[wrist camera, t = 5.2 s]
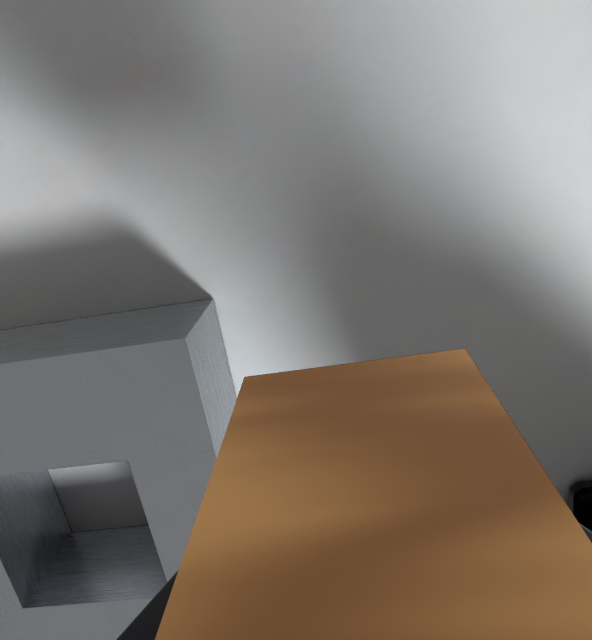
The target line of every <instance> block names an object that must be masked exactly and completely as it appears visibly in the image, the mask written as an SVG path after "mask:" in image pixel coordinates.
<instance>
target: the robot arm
mask: <svg viewBox="0 0 592 640" xmlns="http://www.w3.org/2000/svg"><path fill="white" fill-rule="evenodd" d="M586 492H587V494H586V495H585V496H581V495H582V494H583V493H586ZM569 509H570V510H571V512H572V513H573V515H574V517H575V518H576V520H577V521H578V523H579V524H580V526H581V527H582V529H583V530H584V532H585V533H586V535H587V537H588V538H589V540H590V541H591V543H592V480H588V481H580V482H577V483H575V484H573V485H572V486H571V488H570V490H569ZM178 570H179V569H178ZM178 570H177V572H176V573H175V574H174V575H173V576H172V577H171V578H170V579H169V581H168V582H167V583H166V584H165V585H164V586H163V587H162V588H161V590H160V591H159V592H158V593H157V594H156V595H155V596H154V598H153V599H152V600H151V601H150V602H149V603H148V604H147V605H146V607H145V608H144V609H143V610H142V611H141V612H140V613H139V614H138V616H137V617H136V618H135V619H134V620H133V621H132V622H131V623H130V625H129V626H128V627H127V628H126V629H125V630H124V631H123V633H122V634H121V635H120V636H119V637H118V638H117V639H116V640H155V638H156V635H157V632H158V629H159V626H160V623H161V620H162V617H163V614H164V611H165V608H166V605H167V603H168V600H169V597H170V594H171V591H172V588H173V585H174V582H175V579H176V576H177V573H178Z"/></svg>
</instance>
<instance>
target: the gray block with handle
mask: <svg viewBox="0 0 592 640" xmlns="http://www.w3.org/2000/svg"><path fill="white" fill-rule="evenodd" d="M236 400H237V398H236V393H235V389H234V385H233V381H232V376H231V372H230V368H229V363H228V359H227V355H226V350H225V346H224V342H223V338H222V333H221V329H220V325H219V320H218V316H217V312H216V307H215V303H214V299H208V300H201V301H194V302H187V303H181V304H174V305H167V306H160V307H154V308H147V309H140V310H133V311H127V312H120V313H113V314H106V315H99V316H93V317H86V318H79V319H72V320H66V321H59V322H52V323H45V324H39V325H32V326H25V327H18V328H11V329H5V330H0V640H116V639H117V638H118V637H119V636H120V635H121V634H122V633H123V631H124V630H125V629H126V628H127V627H128V626H129V625H130V623H131V622H132V621H133V620H134V619H135V618H136V617H137V616H138V614H139V613H140V612H141V611H142V610H143V609H144V608H145V607H146V605H147V604H148V603H149V602H150V601H151V600H152V599H153V598H154V596H155V595H156V594H157V593H158V592H159V591H160V590H161V588H162V587H163V586H164V585H165V584H166V583H167V582H168V581H169V579H170V578H171V577H172V576H173V575H174V574H175V573H176V572H177V570H178V569H179V567H180V564H181V562H182V559H183V556H184V553H185V550H186V547H187V544H188V541H189V538H190V535H191V532H192V529H193V526H194V523H195V521H196V518H197V515H198V512H199V509H200V506H201V503H202V500H203V497H204V494H205V491H206V488H207V485H208V482H209V480H210V477H211V474H212V471H213V468H214V465H215V462H216V459H217V456H218V453H219V450H220V447H221V444H222V441H223V439H224V436H225V433H226V430H227V427H228V424H229V421H230V418H231V415H232V412H233V409H234V406H235V403H236ZM127 460H128V463H129V466H130V469H131V472H132V475H133V478H134V482H135V485H136V488H137V491H138V494H139V497H140V500H141V503H142V506H143V509H144V512H145V515H146V518H147V521H148V525H146V526H136V527H126V528H115V529H105V530H95V531H85V532H74V533H72V532H71V530H70V527H69V525H68V522H67V519H66V517H65V514H64V512H63V509H62V507H61V504H60V501H59V499H58V496H57V494H56V491H55V489H54V486H53V483H52V481H51V478H50V476H49V473H48V471H47V470H48V469H57V468H65V467H74V466H83V465H92V464H101V463H110V462H118V461H127Z"/></svg>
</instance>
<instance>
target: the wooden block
mask: <svg viewBox="0 0 592 640" xmlns="http://www.w3.org/2000/svg"><path fill="white" fill-rule="evenodd" d="M155 640H592V543H591V541H590V540H589V538H588V537H587V535H586V533H585V532H584V530H583V529H582V527H581V526H580V524H579V523H578V521H577V520H576V518H575V517H574V515H573V513H572V512H571V510H570V509H569V507H568V506H567V504H566V503H565V501H564V500H563V498H562V496H561V495H560V493H559V492H558V490H557V489H556V487H555V486H554V484H553V483H552V481H551V480H550V478H549V476H548V475H547V473H546V472H545V470H544V469H543V467H542V466H541V464H540V463H539V461H538V460H537V458H536V456H535V455H534V453H533V452H532V450H531V449H530V447H529V446H528V444H527V443H526V441H525V439H524V438H523V436H522V435H521V433H520V432H519V430H518V429H517V427H516V426H515V424H514V423H513V421H512V419H511V418H510V416H509V415H508V413H507V412H506V410H505V409H504V407H503V406H502V404H501V403H500V401H499V399H498V398H497V396H496V395H495V393H494V392H493V390H492V389H491V387H490V386H489V384H488V383H487V381H486V379H485V378H484V376H483V375H482V373H481V372H480V370H479V369H478V367H477V366H476V364H475V362H474V361H473V359H472V358H471V356H470V355H469V353H468V352H467V350H466V349H465V348H464V349H456V350H449V351H441V352H433V353H425V354H418V355H410V356H402V357H395V358H387V359H379V360H372V361H364V362H356V363H348V364H341V365H333V366H325V367H318V368H310V369H302V370H295V371H287V372H279V373H271V374H264V375H256V376H248V377H244V380H243V383H242V386H241V389H240V392H239V395H238V398H237V400H236V403H235V406H234V409H233V412H232V415H231V418H230V421H229V424H228V427H227V430H226V433H225V436H224V439H223V441H222V444H221V447H220V450H219V453H218V456H217V459H216V462H215V465H214V468H213V471H212V474H211V477H210V480H209V482H208V485H207V488H206V491H205V494H204V497H203V500H202V503H201V506H200V509H199V512H198V515H197V518H196V521H195V523H194V526H193V529H192V532H191V535H190V538H189V541H188V544H187V547H186V550H185V553H184V556H183V559H182V562H181V564H180V567H179V570H178V573H177V576H176V579H175V582H174V585H173V588H172V591H171V594H170V597H169V600H168V603H167V605H166V608H165V611H164V614H163V617H162V620H161V623H160V626H159V629H158V632H157V635H156V638H155Z"/></svg>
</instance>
